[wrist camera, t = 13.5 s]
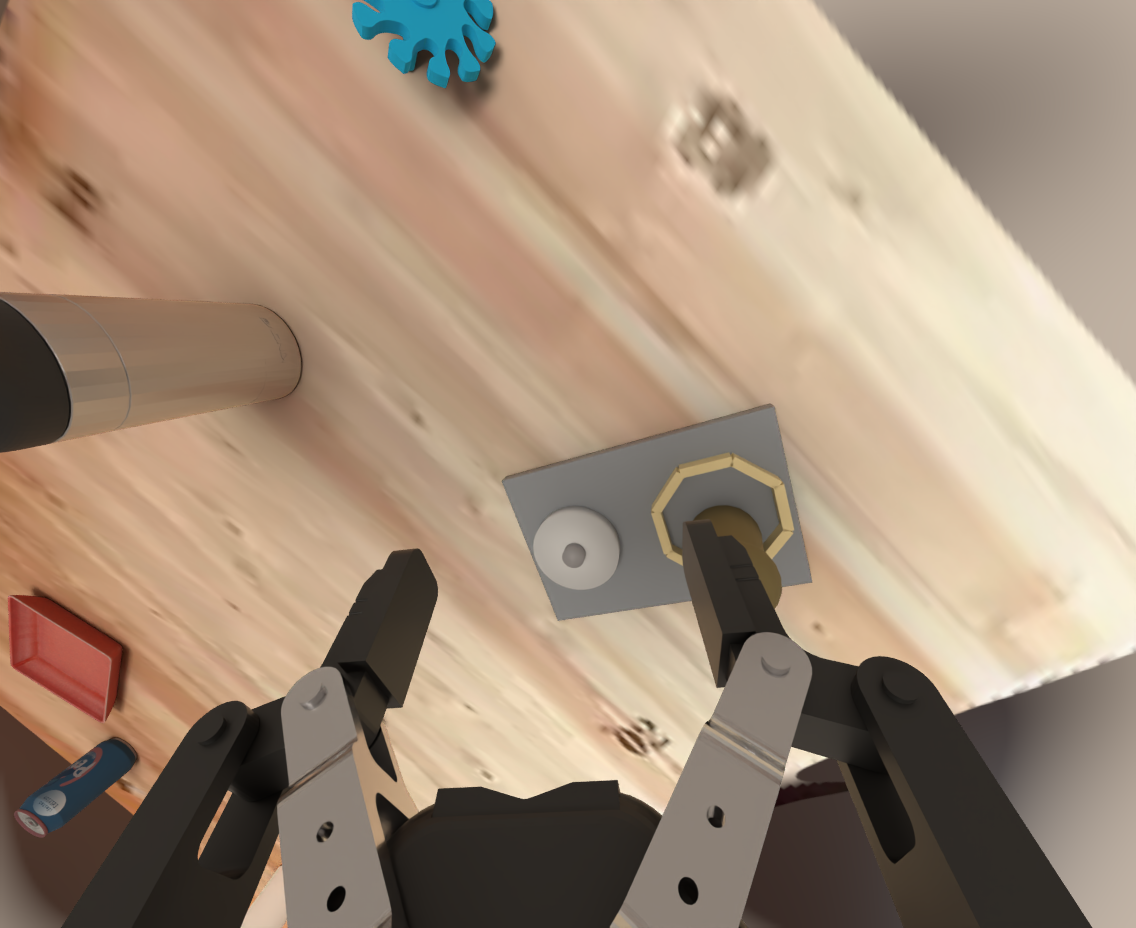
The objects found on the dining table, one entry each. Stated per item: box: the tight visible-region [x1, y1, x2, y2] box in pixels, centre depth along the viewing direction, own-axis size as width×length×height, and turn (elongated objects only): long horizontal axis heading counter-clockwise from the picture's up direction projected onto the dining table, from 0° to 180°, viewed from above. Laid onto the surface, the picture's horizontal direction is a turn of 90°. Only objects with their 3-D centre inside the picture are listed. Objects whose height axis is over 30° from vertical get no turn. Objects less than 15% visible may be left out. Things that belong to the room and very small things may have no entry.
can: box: [241, 866, 287, 928], centre depth 70 cm, size 6×6×12 cm
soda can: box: [14, 738, 137, 837], centre depth 68 cm, size 7×7×12 cm
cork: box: [693, 505, 782, 609], centre depth 30 cm, size 6×6×11 cm
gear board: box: [502, 404, 812, 621], centre depth 36 cm, size 24×16×4 cm, turn 109°
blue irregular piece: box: [352, 0, 496, 88], centre depth 28 cm, size 11×6×10 cm
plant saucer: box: [8, 595, 122, 723], centre depth 65 cm, size 18×18×3 cm
